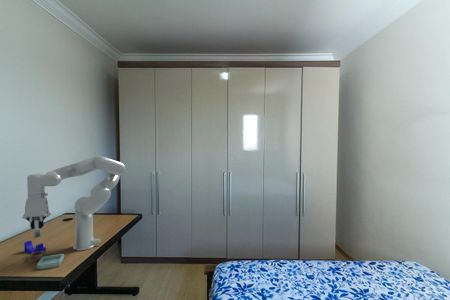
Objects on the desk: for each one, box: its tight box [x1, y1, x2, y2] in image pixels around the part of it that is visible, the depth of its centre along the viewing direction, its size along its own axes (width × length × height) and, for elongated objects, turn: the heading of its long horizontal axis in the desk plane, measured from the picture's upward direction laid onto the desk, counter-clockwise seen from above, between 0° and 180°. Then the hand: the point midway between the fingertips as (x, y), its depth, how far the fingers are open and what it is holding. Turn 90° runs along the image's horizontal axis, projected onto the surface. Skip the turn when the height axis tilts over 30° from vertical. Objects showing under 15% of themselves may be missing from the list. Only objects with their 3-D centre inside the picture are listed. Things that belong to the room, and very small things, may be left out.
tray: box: [35, 253, 65, 271], centre depth 129 cm, size 10×10×2 cm
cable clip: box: [23, 240, 47, 255], centre depth 142 cm, size 12×4×6 cm, turn 71°
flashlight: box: [33, 216, 42, 238], centre depth 134 cm, size 4×4×11 cm
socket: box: [27, 251, 46, 263], centre depth 135 cm, size 6×6×3 cm
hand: (37, 227), depth 134 cm, fingers closed on flashlight, 3 cm apart
